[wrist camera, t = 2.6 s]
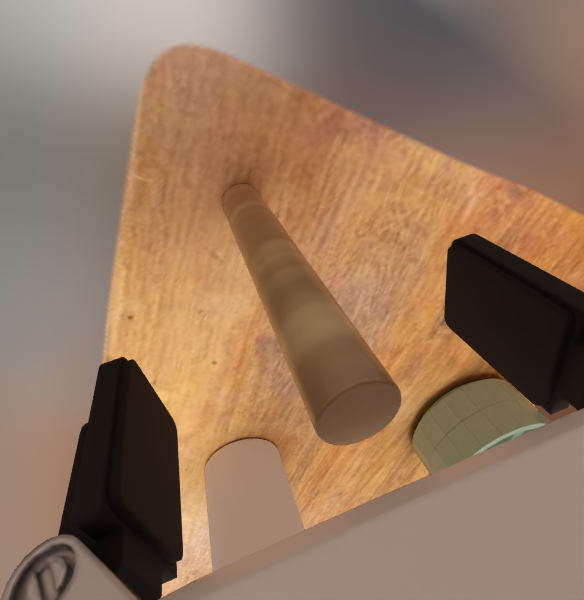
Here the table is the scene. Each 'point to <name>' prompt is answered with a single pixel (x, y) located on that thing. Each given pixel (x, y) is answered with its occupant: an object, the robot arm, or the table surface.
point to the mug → (248, 501)
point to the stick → (311, 328)
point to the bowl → (473, 422)
